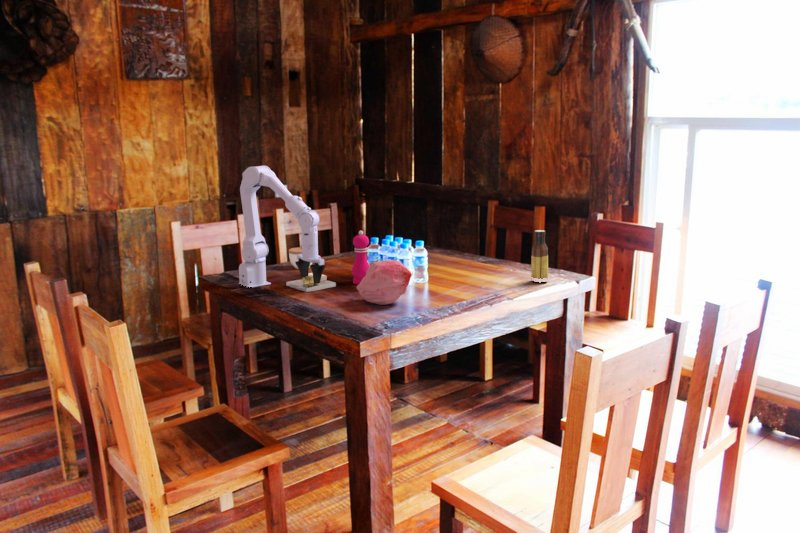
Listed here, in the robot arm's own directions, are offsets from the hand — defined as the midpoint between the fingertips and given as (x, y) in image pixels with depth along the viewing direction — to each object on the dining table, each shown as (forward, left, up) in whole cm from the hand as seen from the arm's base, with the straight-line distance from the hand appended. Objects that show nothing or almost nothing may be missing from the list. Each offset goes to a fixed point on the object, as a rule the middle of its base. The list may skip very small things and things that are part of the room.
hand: (310, 281), depth 249 cm
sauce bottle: (+72, -48, -3) cm, 87 cm away
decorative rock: (+7, -32, -3) cm, 33 cm away
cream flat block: (+5, +5, -1) cm, 8 cm away
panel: (+2, +4, -3) cm, 5 cm away
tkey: (0, 0, -3) cm, 3 cm away
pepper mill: (+20, -4, -3) cm, 21 cm away
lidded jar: (+19, +34, -3) cm, 39 cm away
